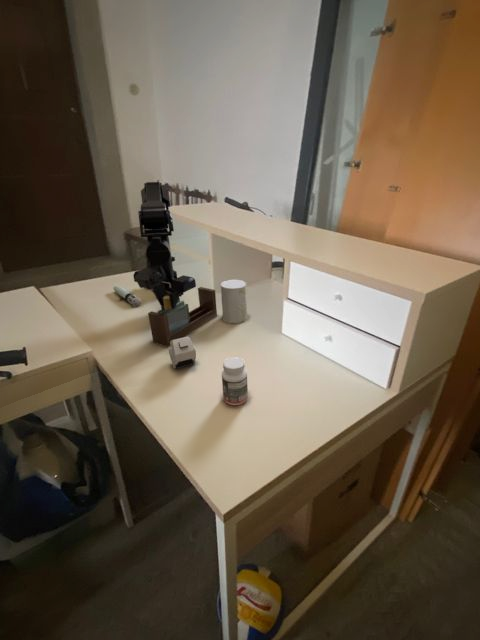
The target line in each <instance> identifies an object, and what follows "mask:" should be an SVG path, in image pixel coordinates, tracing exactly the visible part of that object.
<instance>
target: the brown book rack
mask: <svg viewBox="0 0 480 640" xmlns="http://www.w3.org/2000/svg"><path fill="white" fill-rule="evenodd" d="M197 292H198V293H197V294H198V302H199V306H198V307H195V308H194V309H192V310H191V311H190V307H189V303H184V305H183V306H181V307H179V308H177V309H175V310H173V311H171V312H170V313H168V314H166V315H163V314H160V313H159V312H156V311H153V310H152V311H149V312H148V313H147V316H148V321H149V326H150V331H151V338H152V342H153V343H154V344H158V345H161V346H164V347H167V348H170V347H171V345H170V341H172V340H175V339H179V338H184V337H188V335H190V334H191V333H193V332H195V331H196V330H198V329H199V328H201V327H202V326H205V325H206V324H208V323H209V322H210V321H212V320H213V319H216V318H217V317H218V311H217V310H218V309H217V298H216V290H215V289H212V288H207V287H204V286H199V287H197Z"/></svg>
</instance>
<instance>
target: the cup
mask: <svg viewBox="0 0 480 640" xmlns="http://www.w3.org/2000/svg"><path fill="white" fill-rule="evenodd" d="M220 295H221V308H222V309H221V310H222V320H223V321H224V322H225V323H230V324H239V323H244V322H245V321H247V319H248V306H247V304H248V302H247V301H248V300H247V299H248V298H247V282H246V281H245V280H241V279H228V280H223V281H222V282H221V283H220Z"/></svg>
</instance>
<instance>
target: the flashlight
mask: <svg viewBox="0 0 480 640" xmlns="http://www.w3.org/2000/svg"><path fill="white" fill-rule="evenodd" d="M113 291H114V292H115V293H116V294H117V295H118V296H119V297H120V298H119V301H122V300H124V301H126V302H127V303H129V304H130V305H131V306H133V307H134V308H135V307H136V308H137V307H139V306H140V305H141V299H140V298H138V297H137V296H136V295H134V294H133V293H131V292H130V291H128V290H126V289H125V288H123V287H121V286H119V285H114V286H113Z"/></svg>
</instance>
